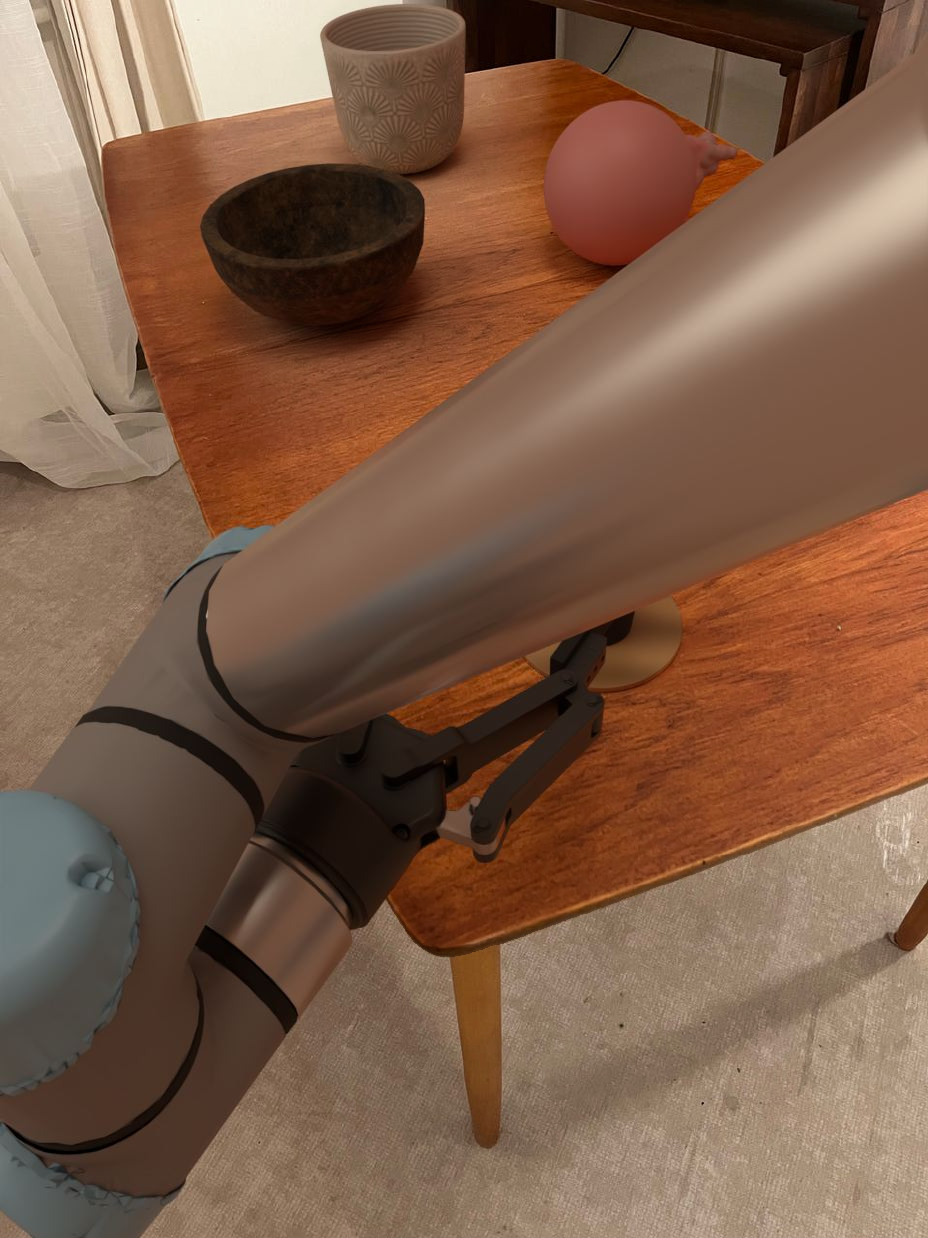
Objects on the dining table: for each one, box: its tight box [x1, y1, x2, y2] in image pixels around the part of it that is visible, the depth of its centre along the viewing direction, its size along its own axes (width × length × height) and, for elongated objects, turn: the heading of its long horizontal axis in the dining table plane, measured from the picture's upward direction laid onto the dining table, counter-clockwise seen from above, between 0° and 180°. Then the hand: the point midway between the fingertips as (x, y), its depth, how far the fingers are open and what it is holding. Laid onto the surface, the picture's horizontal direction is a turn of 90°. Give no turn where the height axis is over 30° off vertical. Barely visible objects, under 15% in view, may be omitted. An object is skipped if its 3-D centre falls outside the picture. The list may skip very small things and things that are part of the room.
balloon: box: [543, 99, 739, 267], centre depth 100 cm, size 15×20×15 cm
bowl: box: [199, 162, 426, 327], centre depth 98 cm, size 22×22×10 cm
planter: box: [319, 3, 467, 175], centre depth 119 cm, size 17×17×15 cm
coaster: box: [523, 596, 684, 693], centre depth 70 cm, size 12×12×1 cm
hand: (541, 569), depth 56 cm, fingers open, 8 cm apart
